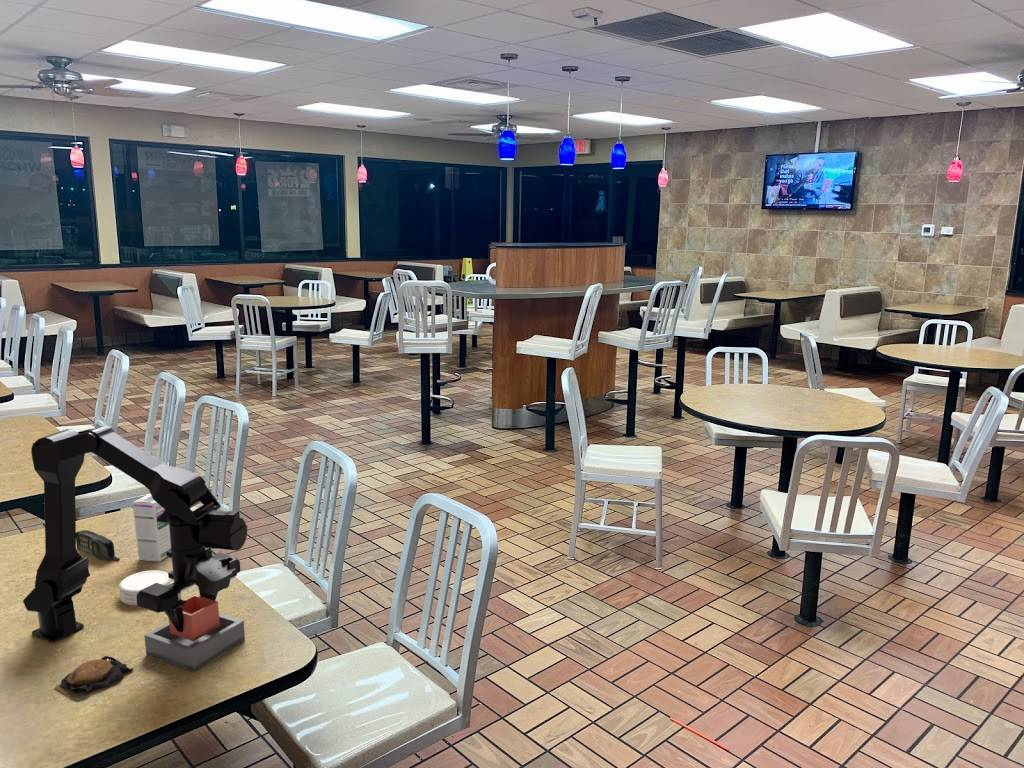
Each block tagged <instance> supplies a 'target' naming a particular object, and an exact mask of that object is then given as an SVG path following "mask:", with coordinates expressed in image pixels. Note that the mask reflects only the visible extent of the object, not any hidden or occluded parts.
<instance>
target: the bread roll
mask: <svg viewBox="0 0 1024 768" xmlns="http://www.w3.org/2000/svg"><path fill="white" fill-rule="evenodd" d="M134 672H135V670H134V668H129V667H128V666H127V664H126V663H122V662H121V661H120V660H117V659H116V658H114V657H112V656H108V655H104V656H103V657H101V658H100V659H99V658H98V659H97V658H96V659H91V660H87V661H84V662H83V663H81V664H80V665H79V666H78V667H76V668H74V669H73V671H72V672H70V673H68V674H67V675H66V676H65V677H64V678H62V679H61V681H60V683H59V684H57V685H56V686H54V688H53V689H54V690H55V691H57V692H58V693H60V694H62V695H64V696H66V697H67V698H70V699H71V700H73V701H75V702H81V701H84V700H85V699H88V698H90V697H91V696H94V695H96V694H98V693H100V692H102V691H103V690H106V689H108V688H110V687H112V686H114V685H115V684H117V683H118V682H120V681H123V679H124V680H125V678H127V677H128V676H130V675H132V674H134Z"/></svg>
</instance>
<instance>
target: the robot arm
mask: <svg viewBox="0 0 1024 768" xmlns="http://www.w3.org/2000/svg"><path fill="white" fill-rule="evenodd" d="M30 452H31V457H32V463H33V469H34V471H35V472H36V474H38V476H39V477H40V478H41V480H42V481H43V495H44V496H43V499H44V504H43V505H44V506H43V507H44V537H45V538H44V539H45V540H44V541H45V542H44V544H45V545H44V546H45V549H44V550H45V551H44V552H45V553H44V556H43V558H42V559H41V562H40V563H39V566H38V568H37V570H36V574H35V581H34V588H33V589H32V590H31V591H30V592H29V594H27V596H26V597H25V598H24V599H23V600H22V602H23V603H22V604H24V607H25V609H26V611H27V612H33V613H34V612H36V613H37V618H38V625H39V627H38V628H36V629H33V630H32V631H31V634H32V636H35V637H38V638H40V639H43V640H45V641H48V642H51V643H55V642H57V641H58V640H61V639H62V638H65V637H66V636H69V635H71V634H73V633H75V632H76V631H79V630H81V629H83V628H85V625H84V623H82V622H78V621H77V619H76V613H75V611H76V610H75V607H74V606H75V604H74V601H73V597H75V596H76V595H78V594H80V593H82V589H83V585H85V584H86V582H87V580H88V578H89V577H91V574H90V570H89V564H90V559H89V557H88V556H87V557H84V556H82V555H81V553H80V552H79V551H78V549H77V543H76V532H77V531H76V529H77V526H76V525H77V524H76V523H77V521H76V519H77V518H76V516H77V515H76V511H77V510H76V478H77V476H78V474H79V472H80V471H81V468H82V466H83V465H84V462H85V457H86V456H85V455H86V454H89V453H91V454H94V455H95V456H96V457H99V458H100V459H102V460H103V461H105V462H106V463H108V464H110V465H111V466H112V467H114V468H116V469H117V470H119V471H120V472H122V473H124V474H126V475H127V476H129V477H131V478H132V479H134V480H135V481H136V482H138V483H139V484H141V485H142V486H144V487H145V488H147V490H148V491H149V494H151V495H152V498H153V499H154V500H155V501H156V502H157V503H158V504H159V505H160V506H161V507H163V508H164V509H165V511H164V512H163V514H162V515H161V516H159V517H158V518H157V521H158V522H166V523H169V532H170V544H171V550H169V551H166V555H167V557H166V558H170V559H171V563H172V564H171V566H172V567H171V568H172V571H169V572H167V573H168V578H170V579H171V580H173V582H171V583H172V584H170V585H168V586H166V585H162V584H159V583H155V584H153V585H151V586H148V587H146V588H144V589H142V590H140V591H139V592H138V593H137V597H136V598H137V605H136V606H137V607H140V608H143V609H146V610H147V611H148V610H149V611H151V612H155V613H164V614H165V615H166V616H167V618H168V620H169V619H170V621H171V622H172V624H173V625H174V627H175V628H176V630H177V631H178V632H183V627H184V622H183V606H184V605H185V604H186V602H187V601H184V600H185V599H182V595H181V593H182V592H183V591H185V590H188V589H189V588H191V587H193V586H197V588H198V591H199V596H202V597H205V598H208V599H211V600H215V601H217V597H218V593H219V592H221V591H223V590H224V589H228V588H229V587H230V583H231V579H234V578H236V576H238V574H239V573H240V572H241V562H240V560H239V558H237V556H234V555H230V554H225V553H222V552H218V553H216V554H214V555H213V551H212V550H211V549H218V550H228V551H239V550H241V549H242V548H243V546H244V545H245V542H246V540H247V536H248V525H247V523H246V521H245V519H244V518H243V517H240V515H241V514H240V511H238V510H237V511H236V510H230V511H228V510H227V511H224V510H219V509H220V508H221V507H222V506H221V504H220V502H219V501H218V500H217V499H216V497H215V496H214V494H213V493H212V491H210V489H209V488H208V486H207V485H206V481H205V479H204V478H203V477H202V476H201V475H199V474H197V473H196V472H195V473H194V472H193V471H190V470H188V469H185V468H183V467H176V466H170V465H168V464H165V463H163V462H162V461H160V460H159V459H157V458H156V457H154V456H152V455H151V454H150V453H148V452H146V451H144V450H143V449H141V448H140V447H138V446H136V445H135V444H133V443H131V442H130V441H129V440H127V439H125V438H124V437H123V436H121V435H119V434H118V433H117V432H116V431H114V429H113V428H112V427H111V426H108V425H100V426H97V427H95V428H89V429H85V430H80V431H76V430H74V429H71V428H68V429H67V428H65V429H64V430H61V431H58V432H55V433H52V434H48V435H46V436H42V437H41V438H38V439H37V440H35V441H34V442H33V443H32V445H31V450H30ZM200 503H201V504H202V505H200V506H199V507H198V508H196V509H194V510H192V508H193V507H195V506H197V505H198V504H200Z"/></svg>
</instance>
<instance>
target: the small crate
mask: <svg viewBox="0 0 1024 768" xmlns="http://www.w3.org/2000/svg"><path fill="white" fill-rule="evenodd" d="M183 600H184V601H187V602H186V604H185V605H184V606H183V622H184V627H183V632H178V631H177V630H176V628H175V627H174V625H173V624H172V622H171V621H170V619H169V618H168V622H169V626H170V633H171V634H173V635H176V636H179V637H182V638H185V639H188V640H191V641H195V640H197V639H199V638H200V637H202V636H204V635H206V634H207V633H209V632H211V631H212V630H214V629H216V628H218V627H219V626H220V624H219V613H220V612H219V602H218V601H217V600H211V599H208V598H205V597H202V596H200V595H198V594H192V595H190V596H188V597H186V598H185V599H183Z"/></svg>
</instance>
